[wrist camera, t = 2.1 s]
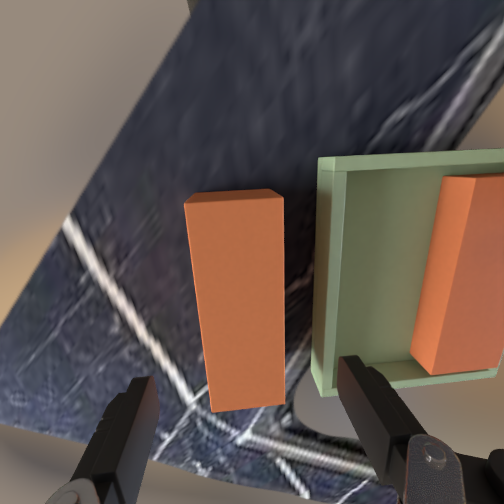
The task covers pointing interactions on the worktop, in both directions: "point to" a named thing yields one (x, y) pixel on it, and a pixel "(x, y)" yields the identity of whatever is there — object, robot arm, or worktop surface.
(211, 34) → the worktop surface
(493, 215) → the pad
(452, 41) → the worktop surface
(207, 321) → the orange block
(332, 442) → the worktop surface
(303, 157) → the worktop surface
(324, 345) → the pad tray
